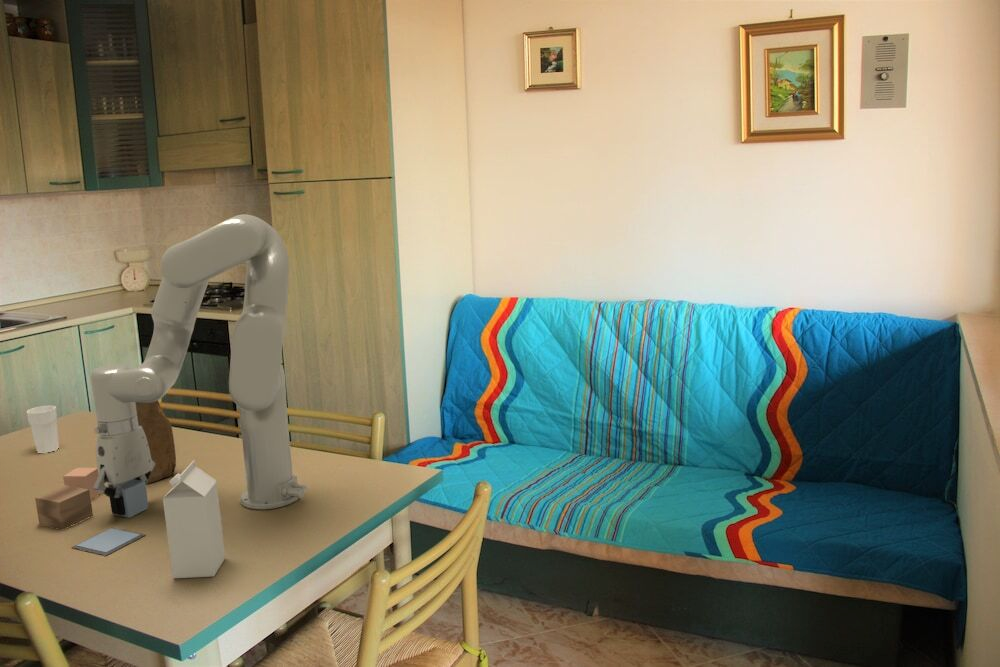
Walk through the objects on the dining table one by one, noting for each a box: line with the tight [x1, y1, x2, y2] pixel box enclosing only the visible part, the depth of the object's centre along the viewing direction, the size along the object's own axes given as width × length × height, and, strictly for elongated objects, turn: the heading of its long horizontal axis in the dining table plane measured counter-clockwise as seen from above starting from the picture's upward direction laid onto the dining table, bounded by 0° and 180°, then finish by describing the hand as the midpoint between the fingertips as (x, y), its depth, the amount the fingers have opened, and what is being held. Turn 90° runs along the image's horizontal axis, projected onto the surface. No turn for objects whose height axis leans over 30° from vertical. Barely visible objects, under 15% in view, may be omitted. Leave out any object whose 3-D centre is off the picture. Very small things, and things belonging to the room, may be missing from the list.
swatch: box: [71, 527, 146, 556], centre depth 160 cm, size 9×9×1 cm
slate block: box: [111, 479, 150, 519], centre depth 174 cm, size 5×5×6 cm
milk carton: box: [162, 459, 226, 579], centre depth 146 cm, size 7×7×19 cm
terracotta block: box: [62, 467, 103, 501], centre depth 182 cm, size 5×5×6 cm
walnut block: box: [34, 485, 94, 530], centre depth 171 cm, size 7×7×6 cm
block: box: [135, 400, 177, 484], centre depth 191 cm, size 11×8×20 cm
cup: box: [26, 405, 60, 454], centre depth 214 cm, size 7×7×11 cm
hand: (130, 507), depth 174 cm, fingers closed on slate block, 5 cm apart
